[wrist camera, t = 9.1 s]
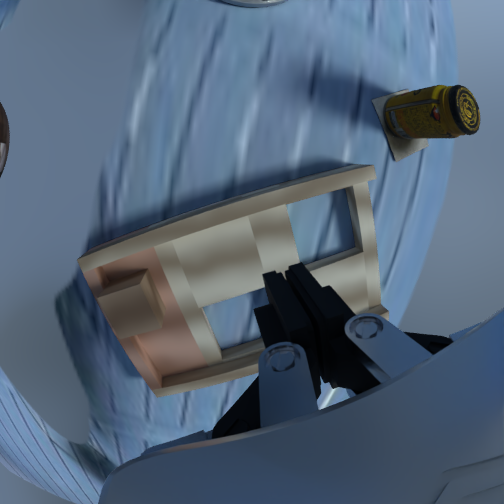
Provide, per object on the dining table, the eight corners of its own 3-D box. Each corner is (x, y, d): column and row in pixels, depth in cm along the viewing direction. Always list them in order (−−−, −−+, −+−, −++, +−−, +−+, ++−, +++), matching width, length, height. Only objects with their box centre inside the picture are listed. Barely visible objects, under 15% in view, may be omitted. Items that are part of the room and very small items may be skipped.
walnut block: (109, 281, 27) (97, 298, 23) (148, 268, 27) (139, 283, 23) (128, 319, 28) (119, 339, 25) (166, 308, 29) (161, 328, 25)
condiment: (407, 89, 27) (472, 75, 16) (427, 145, 30) (494, 149, 19) (370, 100, 27) (438, 81, 16) (394, 162, 30) (465, 168, 19)
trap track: (91, 248, 27) (76, 259, 23) (355, 164, 29) (373, 165, 25) (159, 377, 34) (157, 397, 30) (374, 306, 36) (388, 320, 32)
